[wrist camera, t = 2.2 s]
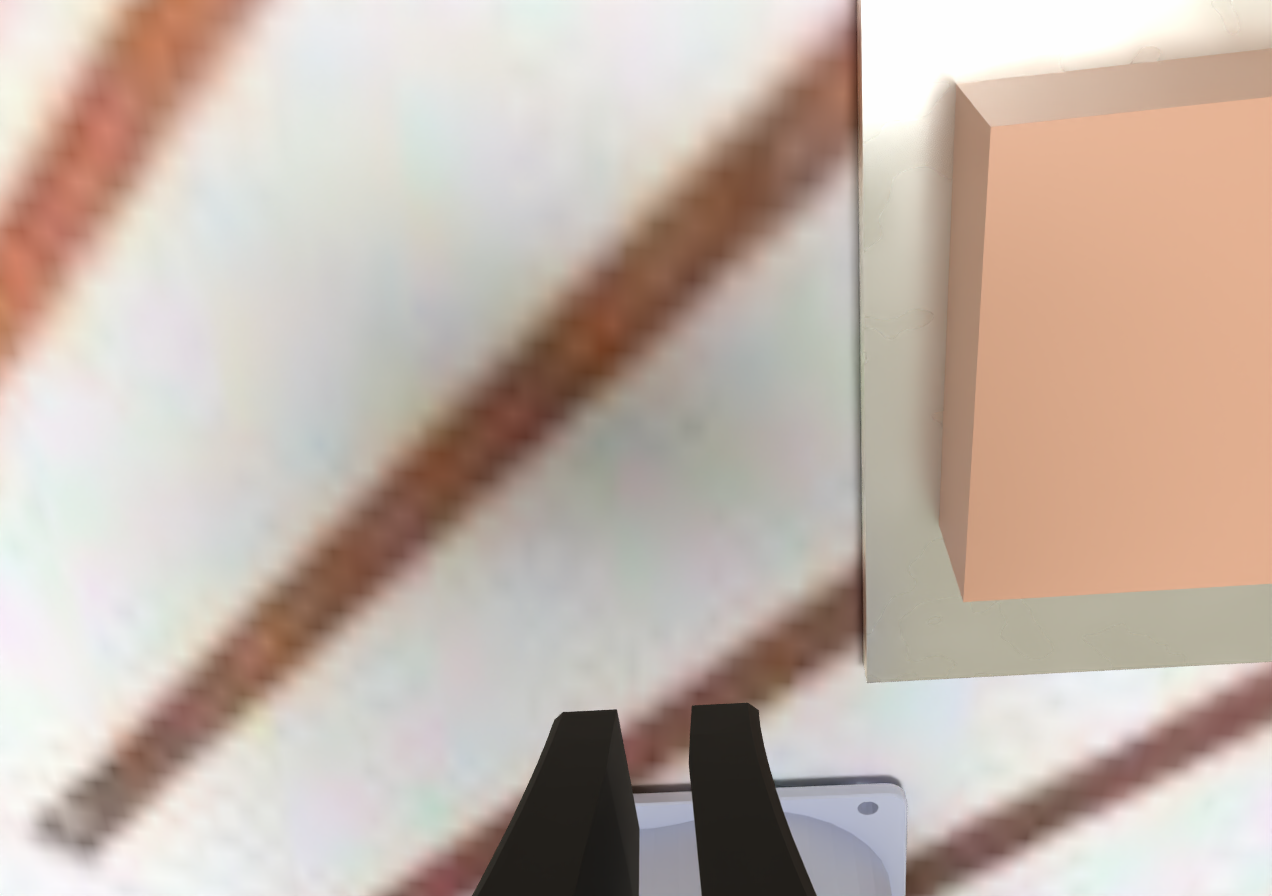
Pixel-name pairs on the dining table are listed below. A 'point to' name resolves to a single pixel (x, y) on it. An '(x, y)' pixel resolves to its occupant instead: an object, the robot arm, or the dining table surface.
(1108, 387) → the peach rectangular panel
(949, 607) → the dock
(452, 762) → the dining table surface
